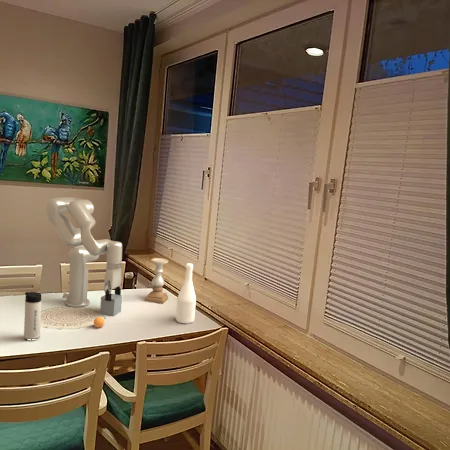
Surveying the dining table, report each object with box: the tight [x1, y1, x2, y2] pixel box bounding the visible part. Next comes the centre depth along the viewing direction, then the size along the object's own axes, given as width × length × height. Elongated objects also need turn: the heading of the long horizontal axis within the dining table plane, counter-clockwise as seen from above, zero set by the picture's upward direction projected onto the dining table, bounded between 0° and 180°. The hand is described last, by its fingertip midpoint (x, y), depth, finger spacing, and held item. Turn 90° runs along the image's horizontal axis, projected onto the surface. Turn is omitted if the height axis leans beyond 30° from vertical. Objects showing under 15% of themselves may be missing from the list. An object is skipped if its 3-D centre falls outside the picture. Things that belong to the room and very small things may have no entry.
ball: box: [93, 316, 106, 328], centre depth 204 cm, size 5×5×5 cm
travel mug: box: [23, 291, 42, 340], centre depth 184 cm, size 6×7×20 cm
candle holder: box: [144, 257, 169, 305], centre depth 251 cm, size 11×11×24 cm
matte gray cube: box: [99, 293, 123, 317], centre depth 224 cm, size 8×8×9 cm
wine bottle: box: [175, 262, 197, 325], centre depth 221 cm, size 10×10×30 cm
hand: (113, 298), depth 223 cm, fingers open, 9 cm apart
